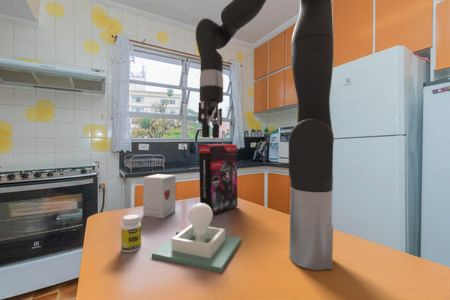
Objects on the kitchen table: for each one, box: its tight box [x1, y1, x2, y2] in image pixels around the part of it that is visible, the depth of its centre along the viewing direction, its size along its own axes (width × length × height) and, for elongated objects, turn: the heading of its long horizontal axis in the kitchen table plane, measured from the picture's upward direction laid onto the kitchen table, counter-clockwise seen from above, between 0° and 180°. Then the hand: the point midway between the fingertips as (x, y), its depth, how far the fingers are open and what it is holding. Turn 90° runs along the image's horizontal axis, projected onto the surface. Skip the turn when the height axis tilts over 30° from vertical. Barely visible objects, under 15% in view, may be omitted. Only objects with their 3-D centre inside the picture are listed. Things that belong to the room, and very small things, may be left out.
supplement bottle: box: [120, 214, 142, 253], centre depth 58 cm, size 5×5×8 cm
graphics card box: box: [198, 143, 238, 217], centre depth 90 cm, size 17×7×27 cm, turn 141°
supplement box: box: [142, 173, 176, 219], centre depth 85 cm, size 9×9×15 cm
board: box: [151, 223, 242, 273], centre depth 58 cm, size 18×16×4 cm
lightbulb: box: [188, 202, 214, 242], centre depth 58 cm, size 6×6×11 cm
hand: (211, 137), depth 71 cm, fingers open, 8 cm apart
